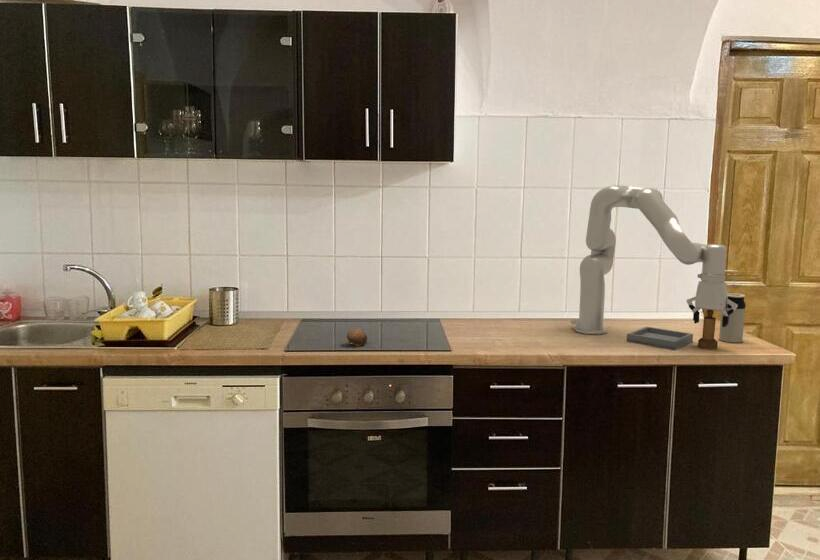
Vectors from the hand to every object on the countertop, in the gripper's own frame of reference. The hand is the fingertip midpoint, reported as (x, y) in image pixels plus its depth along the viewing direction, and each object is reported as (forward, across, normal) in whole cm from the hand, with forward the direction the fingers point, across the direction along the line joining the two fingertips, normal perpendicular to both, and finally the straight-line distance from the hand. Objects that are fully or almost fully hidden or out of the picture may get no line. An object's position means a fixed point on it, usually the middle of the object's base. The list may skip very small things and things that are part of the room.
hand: (710, 324), depth 224 cm
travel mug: (+9, +2, +17) cm, 19 cm away
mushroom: (+7, -94, -89) cm, 130 cm away
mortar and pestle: (+9, 0, 0) cm, 9 cm away
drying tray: (+8, -16, -4) cm, 19 cm away
